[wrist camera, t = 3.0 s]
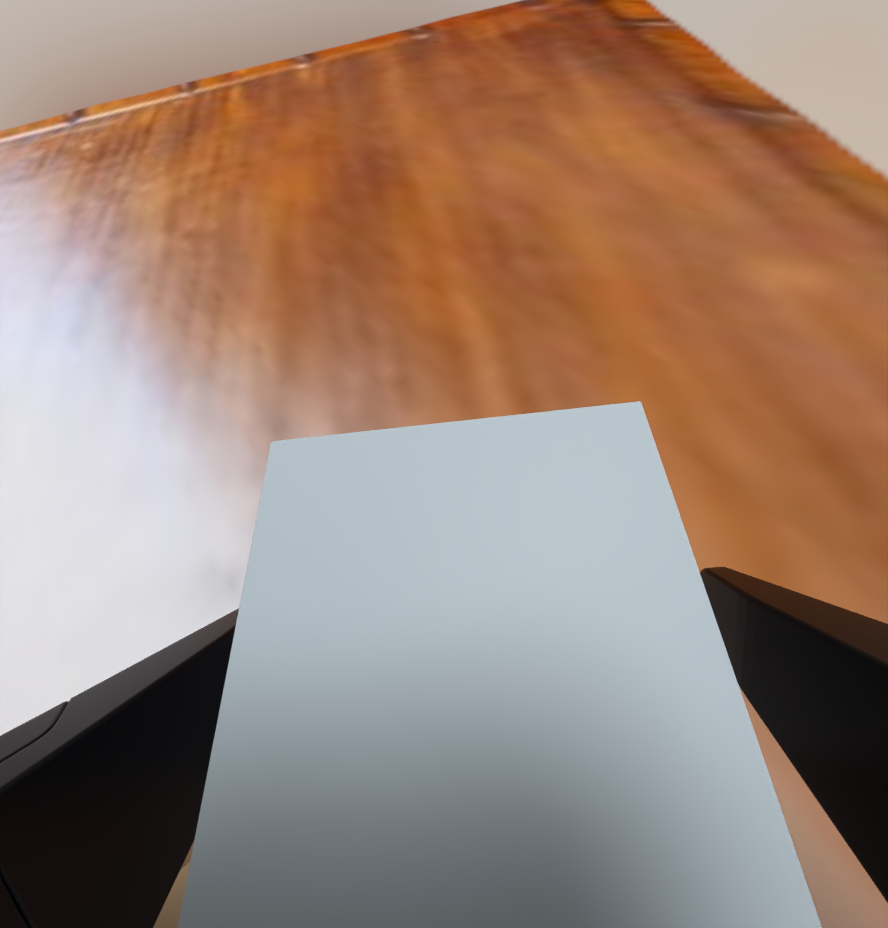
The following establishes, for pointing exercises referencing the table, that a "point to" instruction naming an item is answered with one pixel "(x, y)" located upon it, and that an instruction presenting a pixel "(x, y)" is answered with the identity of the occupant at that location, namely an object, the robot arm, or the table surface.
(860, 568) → the table surface
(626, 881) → the block
